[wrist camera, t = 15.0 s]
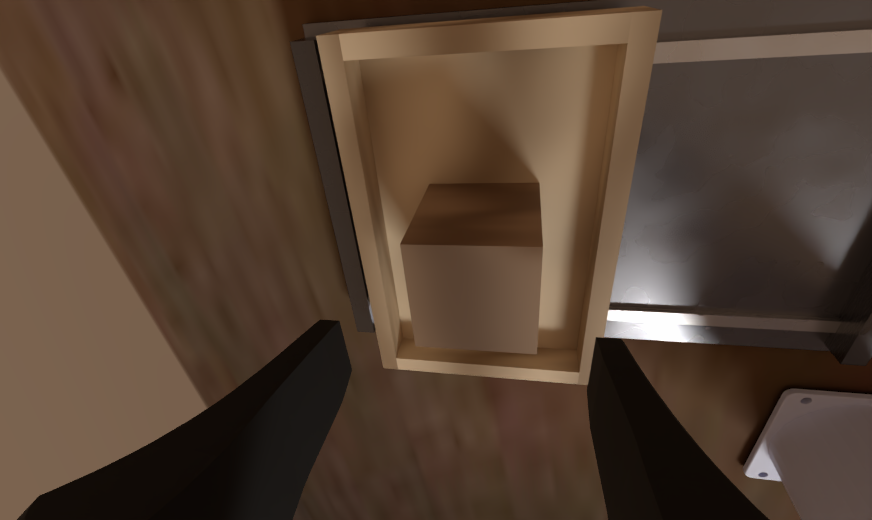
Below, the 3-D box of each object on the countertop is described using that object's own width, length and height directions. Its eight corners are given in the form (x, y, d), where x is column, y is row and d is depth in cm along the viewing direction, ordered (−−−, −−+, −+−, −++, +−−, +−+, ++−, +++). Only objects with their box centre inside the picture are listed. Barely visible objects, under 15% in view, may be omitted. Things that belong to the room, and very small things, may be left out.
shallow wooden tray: (639, 5, 15) (662, 10, 12) (587, 341, 23) (595, 385, 20) (348, 27, 17) (316, 35, 14) (397, 328, 25) (383, 367, 22)
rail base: (1062, -38, 13) (1130, -40, 12) (837, 346, 22) (860, 373, 20) (306, 23, 18) (286, 27, 16) (368, 317, 26) (359, 337, 25)
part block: (539, 182, 17) (543, 247, 13) (534, 275, 19) (536, 354, 15) (429, 183, 18) (400, 244, 14) (438, 272, 20) (415, 346, 16)
